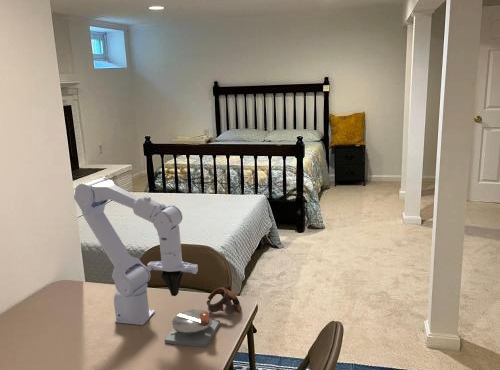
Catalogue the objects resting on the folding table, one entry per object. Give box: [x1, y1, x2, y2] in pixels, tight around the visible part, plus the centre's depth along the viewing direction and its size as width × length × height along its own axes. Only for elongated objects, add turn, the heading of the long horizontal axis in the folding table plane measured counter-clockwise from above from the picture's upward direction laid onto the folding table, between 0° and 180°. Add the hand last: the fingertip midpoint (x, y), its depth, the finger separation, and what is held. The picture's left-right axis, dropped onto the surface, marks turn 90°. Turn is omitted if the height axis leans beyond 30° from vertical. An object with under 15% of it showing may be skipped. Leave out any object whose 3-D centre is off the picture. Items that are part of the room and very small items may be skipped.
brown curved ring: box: [206, 284, 242, 314], centre depth 140 cm, size 12×10×8 cm
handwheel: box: [172, 309, 213, 334], centre depth 127 cm, size 11×11×6 cm
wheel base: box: [164, 319, 221, 348], centre depth 128 cm, size 12×12×1 cm
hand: (174, 294), depth 130 cm, fingers closed
